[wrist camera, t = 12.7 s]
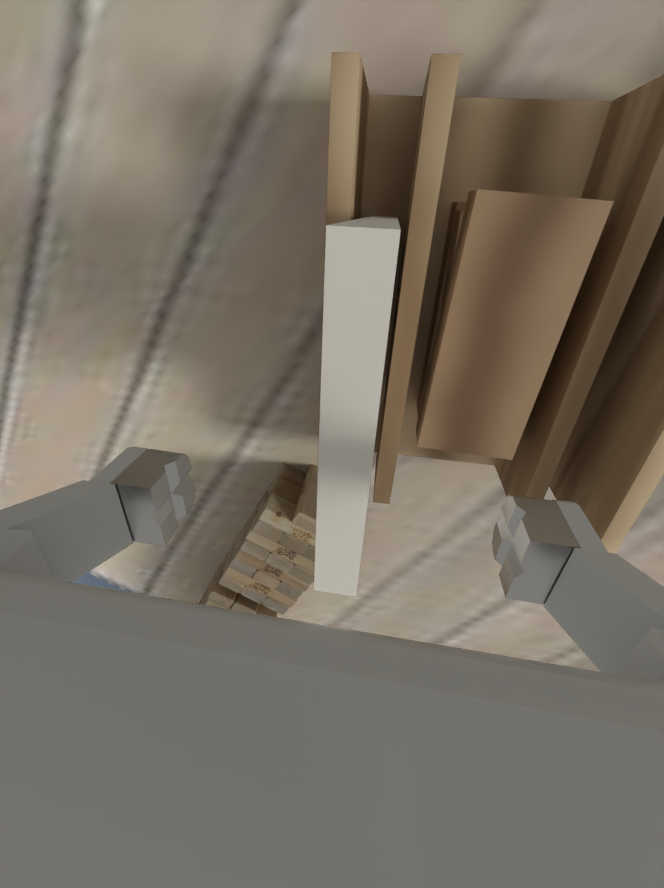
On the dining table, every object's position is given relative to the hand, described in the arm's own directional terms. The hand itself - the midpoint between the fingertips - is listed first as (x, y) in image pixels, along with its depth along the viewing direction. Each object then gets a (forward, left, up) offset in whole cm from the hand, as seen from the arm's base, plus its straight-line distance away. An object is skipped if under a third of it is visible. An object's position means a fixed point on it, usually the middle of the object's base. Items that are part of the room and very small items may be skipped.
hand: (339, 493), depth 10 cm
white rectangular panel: (0, 0, -22) cm, 22 cm away
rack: (-7, 0, -23) cm, 24 cm away
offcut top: (-7, 0, -17) cm, 18 cm away
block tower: (+10, +29, -24) cm, 38 cm away
